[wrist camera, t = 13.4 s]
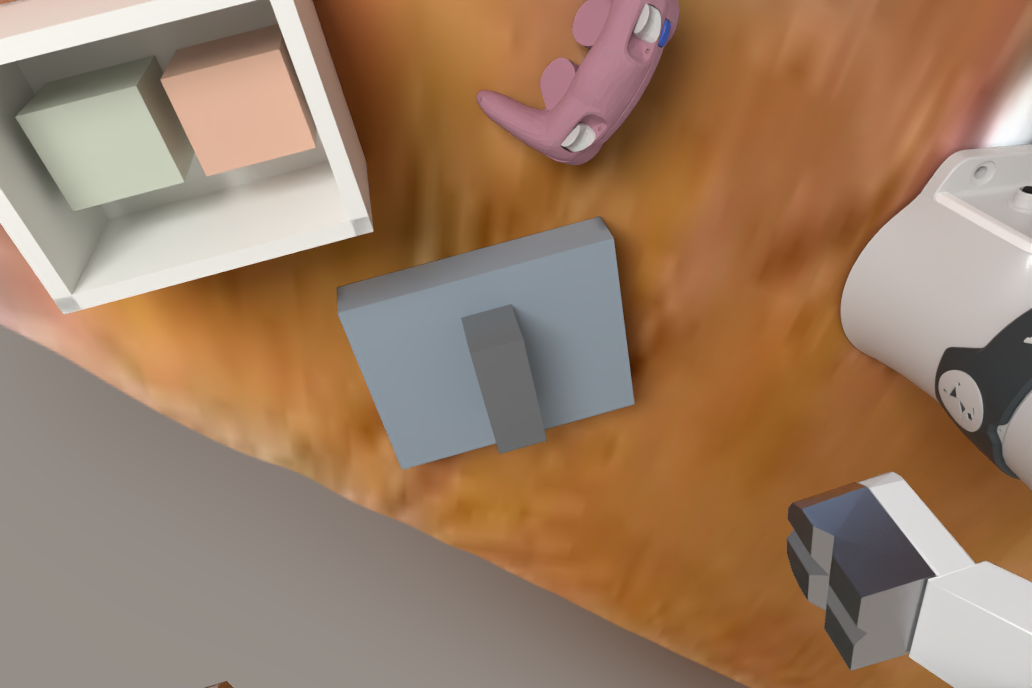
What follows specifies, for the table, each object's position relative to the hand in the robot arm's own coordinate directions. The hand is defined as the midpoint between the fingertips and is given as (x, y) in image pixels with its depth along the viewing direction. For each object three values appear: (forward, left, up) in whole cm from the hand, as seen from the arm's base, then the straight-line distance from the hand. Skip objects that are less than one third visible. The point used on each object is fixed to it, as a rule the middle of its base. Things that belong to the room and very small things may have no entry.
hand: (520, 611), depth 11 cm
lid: (-1, +20, -33) cm, 38 cm away
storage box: (+10, +1, -33) cm, 34 cm away
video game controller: (-9, +3, -33) cm, 34 cm away
